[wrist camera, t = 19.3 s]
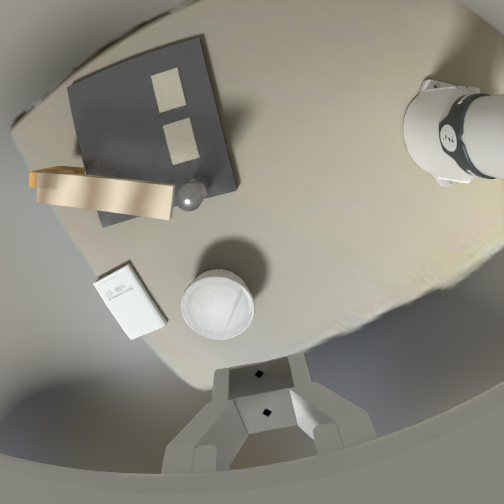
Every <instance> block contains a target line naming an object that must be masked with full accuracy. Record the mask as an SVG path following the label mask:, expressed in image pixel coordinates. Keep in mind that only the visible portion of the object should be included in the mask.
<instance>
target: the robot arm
mask: <svg viewBox="0 0 504 504" xmlns="http://www.w3.org/2000/svg"><path fill="white" fill-rule="evenodd" d="M434 86H435V87H436V89H435V88H434ZM403 132H404V139H405V143H406V146H407V149H408V151H409V153H410V155H411V157H412V158H413V160H414V161H415V163H416V164H417V165H418V166H419V167H420V168H422V169H423V170H424V171H426V172H428V173H430V174H431V175H432V176H433V177H434V179H435V180H436V181H437V183H438V184H439V185H440V186H441V187H445V188H447V187H449V186H451V185H454V184H456V183H458V182H462V183H470V181H471V180H474V179H475V178H477V177H478V178H482V179H495V178H499V179H503V180H504V94H500V95H493V96H491V95H489V94H484V93H480V89H479V88H478V87H473V86H470V87H468V88H467V89H466V87H465V86H455V85H452V84H448V83H443V82H439V81H435V80H430V79H429V80H424V81H423V83H422V86H421V89H420V92H419V94H418V95H417V97H416V98H415V99H414V100H413V101H412V102H411V103H410V105H409V106H408V108H407V111H406V114H405V117H404V124H403ZM294 425H298V426H299V427H300V428H301V429H302V430H304V431H305V432H306V433H307V434H308V435H309V436H310V437H311V438H313V439H314V441H315V447H316V452H317V456H313V457H308V458H304V459H300V460H294V461H289V462H284V463H279V464H273V465H267V466H260V467H253V468H246V469H238V470H230V469H229V465H230V464H231V462H232V461H233V459H234V458H235V456H236V454H237V453H238V451H239V450H240V448H241V446H242V445H243V443H244V441H245V440H246V438H247V436H248V434H251V433H256V432H261V431H267V430H271V429H276V428H283V427H288V426H294ZM0 504H504V381H503V382H501V383H500V384H498V385H496V386H495V387H493V388H491V389H489V390H488V391H486V392H484V393H482V394H480V395H478V396H476V397H475V398H472V399H471V400H469V401H467V402H465V403H463V404H461V405H459V406H457V407H454V408H452V409H450V410H448V411H446V412H444V413H442V414H439V415H437V416H435V417H433V418H430V419H428V420H425V421H423V422H421V423H418V424H416V425H413V426H410V427H408V428H405V429H403V430H400V431H397V432H395V433H392V434H389V435H386V436H383V437H380V438H377V435H376V433H375V431H374V428H373V426H372V423H371V421H370V418H369V416H368V414H367V412H366V411H365V410H363V409H361V408H360V407H358V406H356V405H354V404H352V403H350V402H349V401H347V400H345V399H344V398H342V397H340V396H339V395H337V394H335V393H333V392H331V391H330V390H328V389H327V388H325V387H323V386H322V385H320V384H318V383H316V382H314V383H311V380H310V376H309V373H308V369H307V366H306V362H305V358H304V355H303V353H302V352H300V353H296V354H292V355H288V357H287V356H286V357H281V358H277V359H272V360H268V361H263V362H258V363H252V364H246V365H241V366H235V367H230V368H223V369H217V370H216V371H215V372H214V382H213V393H212V402H210V403H207V404H206V405H205V406H204V407H203V408H202V410H201V411H200V412H199V413H198V414H197V415H196V416H195V417H194V418H193V419H192V420H191V422H189V423H188V425H187V426H186V427H185V428H184V429H183V430H182V431H181V432H180V433H179V434H178V435H177V436H176V437H175V438H174V439H173V440H172V441H171V442H170V443H169V444H168V445H167V447H166V450H165V456H164V461H163V467H162V471H161V474H130V473H128V474H127V473H111V472H100V471H90V470H81V469H73V468H66V467H60V466H53V465H48V464H42V463H37V462H33V461H28V460H23V459H19V458H15V457H11V456H7V455H3V454H0Z"/></svg>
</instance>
